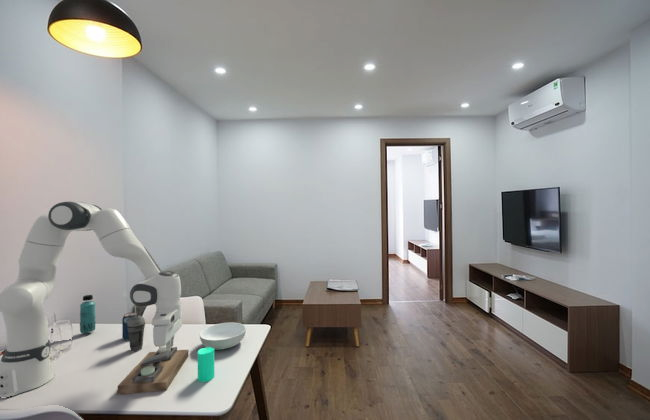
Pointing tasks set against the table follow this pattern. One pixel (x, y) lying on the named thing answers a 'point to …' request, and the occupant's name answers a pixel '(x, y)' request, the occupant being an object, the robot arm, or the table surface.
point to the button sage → (148, 371)
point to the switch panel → (159, 379)
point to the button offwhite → (163, 349)
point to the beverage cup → (136, 332)
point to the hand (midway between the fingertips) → (169, 347)
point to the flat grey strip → (156, 358)
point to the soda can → (124, 324)
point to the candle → (205, 364)
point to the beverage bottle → (87, 315)
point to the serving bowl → (222, 335)
